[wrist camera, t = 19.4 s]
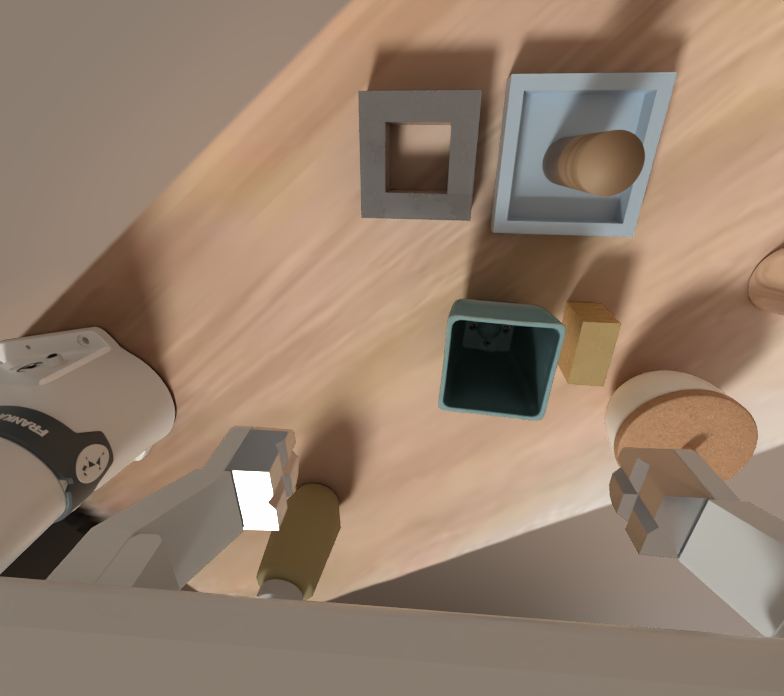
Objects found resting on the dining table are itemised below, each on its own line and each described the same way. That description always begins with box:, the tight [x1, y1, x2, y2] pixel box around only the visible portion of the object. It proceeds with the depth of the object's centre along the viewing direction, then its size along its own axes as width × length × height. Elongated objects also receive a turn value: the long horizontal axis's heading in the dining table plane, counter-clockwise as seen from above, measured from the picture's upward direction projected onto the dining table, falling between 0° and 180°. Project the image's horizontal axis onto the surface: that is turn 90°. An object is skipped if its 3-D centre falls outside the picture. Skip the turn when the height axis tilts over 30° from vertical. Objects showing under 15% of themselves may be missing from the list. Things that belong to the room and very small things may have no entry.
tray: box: [490, 72, 677, 237], centre depth 31 cm, size 11×11×2 cm
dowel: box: [542, 130, 645, 197], centre depth 27 cm, size 4×4×10 cm
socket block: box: [358, 90, 482, 221], centre depth 32 cm, size 9×9×3 cm
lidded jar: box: [604, 370, 758, 482], centre depth 37 cm, size 11×11×9 cm
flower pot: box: [438, 299, 566, 420], centre depth 35 cm, size 9×9×9 cm
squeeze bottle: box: [256, 483, 341, 601], centre depth 45 cm, size 8×8×18 cm
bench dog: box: [558, 302, 621, 386], centre depth 36 cm, size 3×6×5 cm, turn 179°
